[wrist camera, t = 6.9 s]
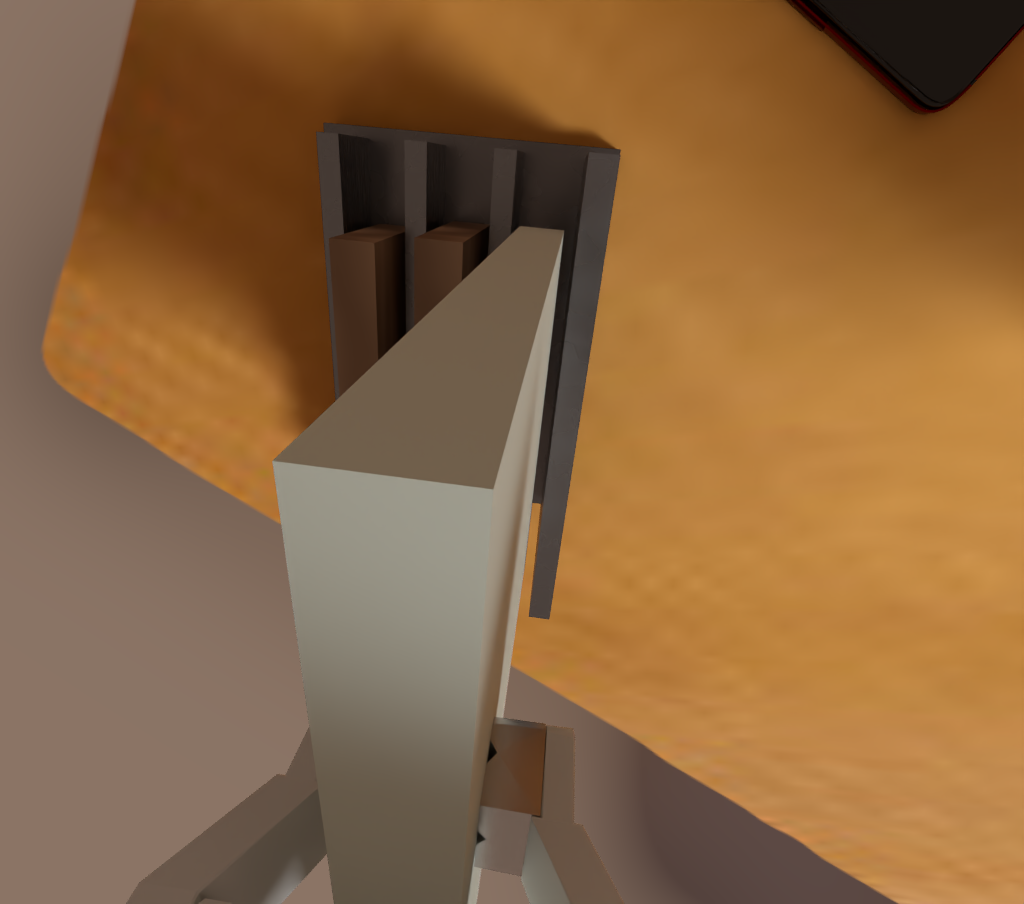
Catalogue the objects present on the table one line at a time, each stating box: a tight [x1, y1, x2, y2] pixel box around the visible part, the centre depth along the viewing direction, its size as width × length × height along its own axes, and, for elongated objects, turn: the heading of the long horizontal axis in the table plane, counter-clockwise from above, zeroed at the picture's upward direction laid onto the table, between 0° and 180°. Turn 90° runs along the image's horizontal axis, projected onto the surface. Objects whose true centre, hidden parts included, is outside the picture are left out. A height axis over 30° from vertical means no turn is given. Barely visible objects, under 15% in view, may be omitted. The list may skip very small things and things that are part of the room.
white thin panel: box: [273, 226, 564, 904], centre depth 15 cm, size 2×15×18 cm, turn 175°
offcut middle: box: [414, 221, 490, 326], centre depth 29 cm, size 2×13×8 cm, turn 175°
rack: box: [316, 123, 621, 619], centre depth 28 cm, size 15×21×12 cm
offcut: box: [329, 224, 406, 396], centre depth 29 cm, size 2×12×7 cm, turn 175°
